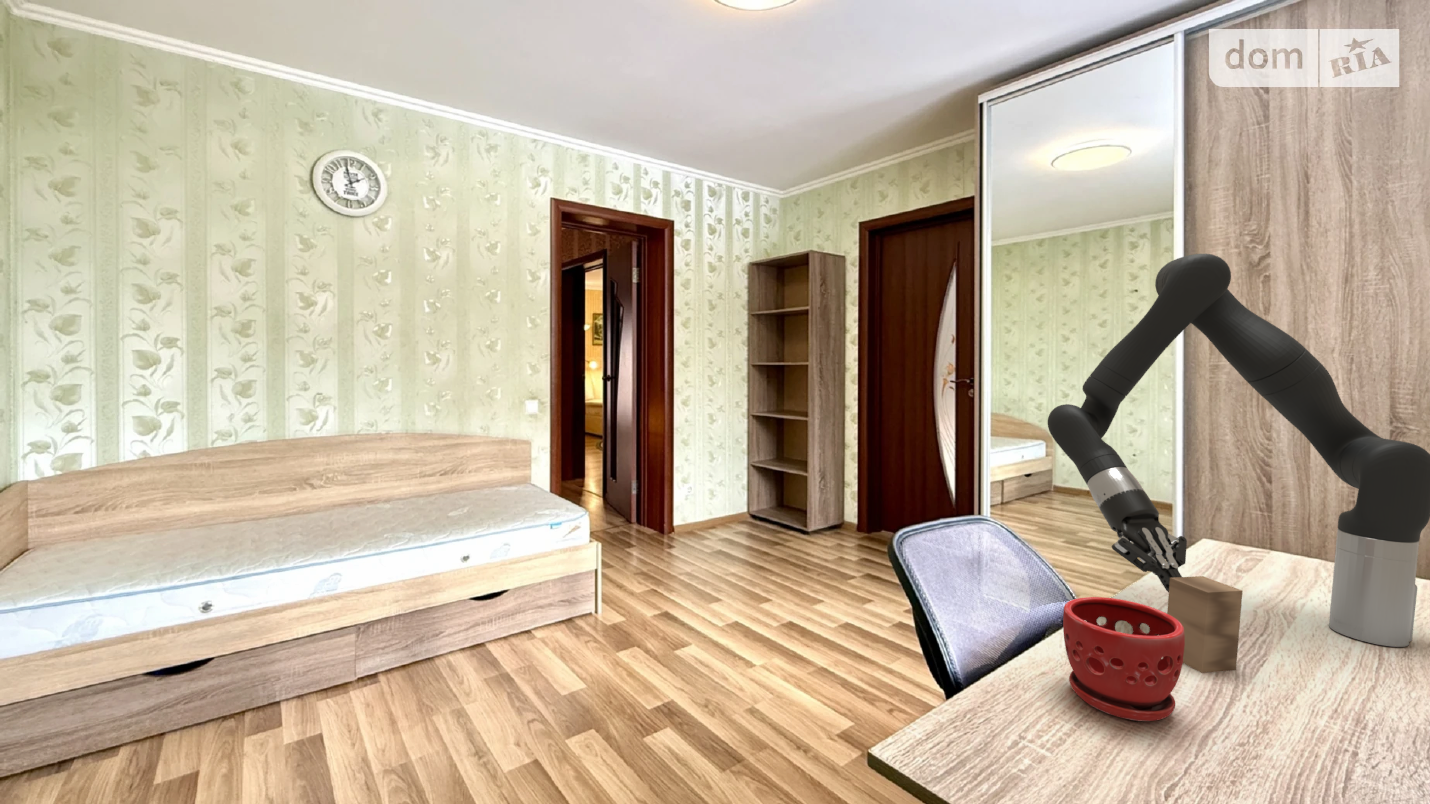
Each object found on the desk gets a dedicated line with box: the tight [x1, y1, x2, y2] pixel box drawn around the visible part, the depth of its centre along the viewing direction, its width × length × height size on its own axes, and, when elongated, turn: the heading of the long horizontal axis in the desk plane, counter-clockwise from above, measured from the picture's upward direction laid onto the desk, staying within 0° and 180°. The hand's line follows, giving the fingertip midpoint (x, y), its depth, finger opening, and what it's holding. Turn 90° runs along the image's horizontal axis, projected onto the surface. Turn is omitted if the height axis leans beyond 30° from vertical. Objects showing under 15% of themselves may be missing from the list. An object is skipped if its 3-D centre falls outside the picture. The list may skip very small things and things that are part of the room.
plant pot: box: [1062, 596, 1185, 722], centre depth 79 cm, size 13×13×12 cm
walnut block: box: [1167, 575, 1243, 674], centre depth 91 cm, size 6×6×12 cm
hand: (1181, 594), depth 94 cm, fingers closed
